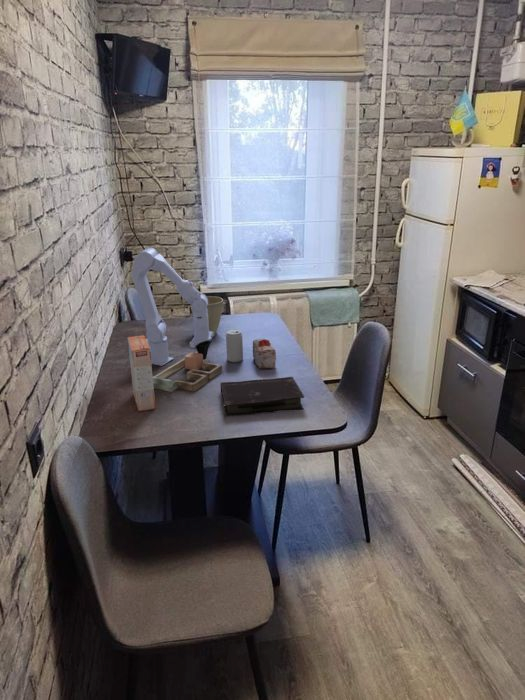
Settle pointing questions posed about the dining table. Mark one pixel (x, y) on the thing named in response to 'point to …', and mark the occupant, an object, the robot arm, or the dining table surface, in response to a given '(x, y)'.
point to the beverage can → (234, 345)
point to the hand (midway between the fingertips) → (203, 358)
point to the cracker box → (141, 372)
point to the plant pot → (214, 312)
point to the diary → (261, 396)
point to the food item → (264, 354)
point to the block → (193, 361)
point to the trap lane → (193, 375)
